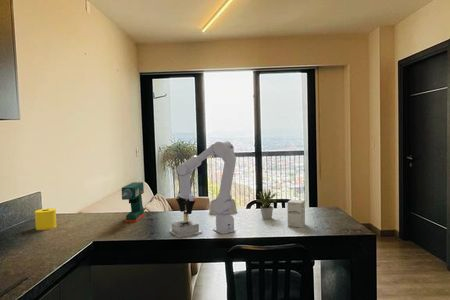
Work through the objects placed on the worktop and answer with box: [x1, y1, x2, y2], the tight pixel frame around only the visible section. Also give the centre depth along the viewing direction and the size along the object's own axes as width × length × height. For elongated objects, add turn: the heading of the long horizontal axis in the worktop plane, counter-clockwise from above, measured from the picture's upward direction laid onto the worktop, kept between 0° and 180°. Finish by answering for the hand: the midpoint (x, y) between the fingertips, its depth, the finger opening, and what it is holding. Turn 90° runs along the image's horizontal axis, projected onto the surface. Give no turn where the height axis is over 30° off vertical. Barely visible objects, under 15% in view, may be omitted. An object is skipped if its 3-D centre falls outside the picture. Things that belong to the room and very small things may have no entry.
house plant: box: [255, 188, 280, 220], centre depth 193 cm, size 14×14×16 cm
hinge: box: [209, 198, 238, 215], centre depth 212 cm, size 17×5×10 cm, turn 97°
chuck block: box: [168, 219, 203, 238], centre depth 170 cm, size 12×12×4 cm
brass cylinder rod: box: [183, 210, 190, 221], centre depth 182 cm, size 2×2×8 cm
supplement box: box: [287, 199, 306, 228], centre depth 177 cm, size 7×7×13 cm
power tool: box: [121, 181, 146, 223], centre depth 197 cm, size 32×7×20 cm, turn 179°
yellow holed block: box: [34, 207, 57, 231], centre depth 189 cm, size 10×10×9 cm
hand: (185, 212), depth 181 cm, fingers open, 7 cm apart
